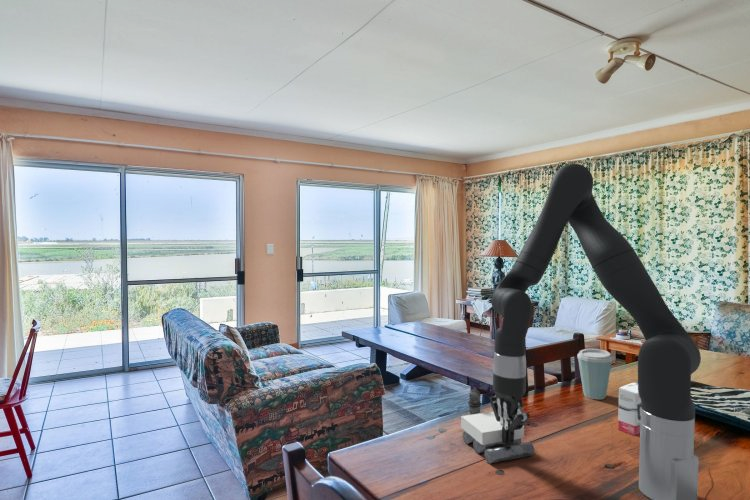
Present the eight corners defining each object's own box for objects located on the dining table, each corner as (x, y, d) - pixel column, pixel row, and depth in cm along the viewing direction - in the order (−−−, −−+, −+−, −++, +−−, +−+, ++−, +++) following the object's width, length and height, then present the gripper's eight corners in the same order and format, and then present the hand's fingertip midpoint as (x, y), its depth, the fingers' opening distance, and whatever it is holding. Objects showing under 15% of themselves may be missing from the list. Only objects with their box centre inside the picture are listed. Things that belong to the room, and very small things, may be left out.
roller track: (534, 457, 104) (534, 445, 104) (491, 465, 101) (491, 453, 100) (502, 434, 117) (502, 423, 117) (462, 440, 113) (462, 429, 113)
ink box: (635, 436, 116) (637, 392, 116) (616, 429, 120) (618, 387, 120) (651, 428, 121) (652, 386, 120) (632, 422, 125) (633, 381, 125)
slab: (524, 437, 108) (524, 426, 108) (482, 445, 104) (482, 432, 104) (500, 421, 118) (500, 410, 117) (460, 427, 114) (461, 416, 114)
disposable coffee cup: (603, 404, 138) (604, 357, 137) (570, 395, 146) (571, 350, 145) (617, 397, 144) (618, 352, 144) (584, 388, 153) (585, 345, 152)
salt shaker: (469, 423, 123) (470, 381, 123) (488, 429, 120) (489, 386, 119) (459, 430, 119) (460, 387, 118) (479, 437, 115) (480, 392, 115)
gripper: (541, 379, 98) (539, 454, 99) (505, 362, 111) (504, 429, 112) (513, 382, 96) (511, 459, 97) (480, 365, 108) (478, 433, 109)
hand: (507, 443), depth 104 cm, fingers closed
